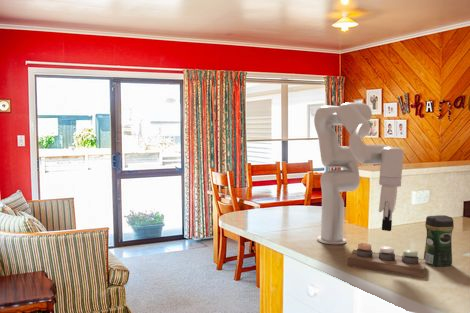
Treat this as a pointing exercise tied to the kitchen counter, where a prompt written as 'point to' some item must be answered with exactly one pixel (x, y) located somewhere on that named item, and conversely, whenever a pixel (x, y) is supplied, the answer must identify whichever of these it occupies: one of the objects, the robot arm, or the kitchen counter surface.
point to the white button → (386, 249)
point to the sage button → (410, 252)
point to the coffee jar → (438, 240)
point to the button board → (387, 262)
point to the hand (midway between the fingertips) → (386, 230)
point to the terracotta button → (364, 246)
